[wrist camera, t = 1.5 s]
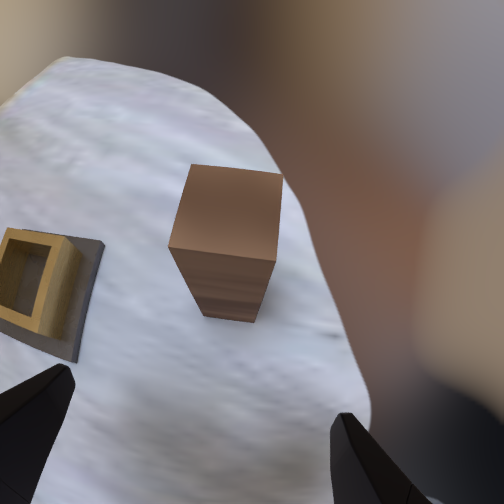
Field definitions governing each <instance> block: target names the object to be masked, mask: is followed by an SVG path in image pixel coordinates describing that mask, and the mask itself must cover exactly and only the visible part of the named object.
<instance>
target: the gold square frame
mask: <svg viewBox="0 0 504 504" xmlns="http://www.w3.org/2000/svg"><path fill="white" fill-rule="evenodd" d="M104 247H105V245H104V244H103V243H102V241H100V240H93V239H86V238H79V237H72V236H66V235H59V234H52V233H45V232H39V231H32V230H26V229H22V230H20V229H14V228H7V230H6V232H5V235H4V237H3V240H2V243H1V245H0V332H2V333H4V334H6V335H8V336H10V337H12V338H14V339H16V340H19V341H21V342H23V343H25V344H27V345H30V346H32V347H34V348H36V349H39V350H41V351H44V352H46V353H48V354H51V355H53V356H56V357H59V358H61V359H64V360H66V361H69V362H73V363H77V359H78V353H79V347H80V341H81V336H82V331H83V326H84V322H85V317H86V313H87V308H88V304H89V300H90V296H91V292H92V288H93V284H94V281H95V277H96V273H97V270H98V266H99V263H100V260H101V256H102V253H103V250H104Z"/></svg>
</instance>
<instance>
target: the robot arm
mask: <svg viewBox="0 0 504 504" xmlns="http://www.w3.org/2000/svg"><path fill="white" fill-rule="evenodd" d="M74 390H75V380H74V378H73V375H72V372H71V370H70V368H69V367H68V366H66V365H63V364H60V363H59V364H56V365H54V366H53V367H51V368H49V369H47V370H45V371H43V372H41V373H39V374H37V375H35V376H34V377H32V378H30V379H28V380H26V381H24V382H22V383H20V384H18V385H16V386H14V387H13V388H11V389H9V390H7V391H5V392H3V393H1V394H0V504H31V501H32V498H33V495H34V492H35V490H36V487H37V484H38V481H39V479H40V476H41V473H42V471H43V468H44V466H45V463H46V461H47V458H48V456H49V453H50V451H51V449H52V446H53V444H54V442H55V439H56V437H57V435H58V433H59V430H60V428H61V426H62V424H63V421H64V418H65V416H66V413H67V410H68V407H69V404H70V401H71V398H72V395H73V392H74ZM330 471H331V481H332V489H333V497H334V504H432V503H431V502H430V501H429V500H428V499H427V498H426V497H425V496H424V495H423V494H422V493H421V492H420V491H419V490H418V489H417V487H416V486H415V485H414V484H412V482H411V481H410V480H409V479H408V477H407V476H406V475H405V474H404V473H403V472H402V471H401V470H400V468H399V467H398V466H397V465H396V464H395V463H394V462H393V461H392V459H391V458H390V457H389V456H388V455H387V454H386V452H385V451H384V450H383V449H382V448H381V447H380V445H379V444H378V443H377V442H376V441H375V440H374V438H373V437H372V436H371V435H370V434H369V433H368V431H367V430H366V429H365V428H364V427H363V425H362V424H361V423H360V422H359V421H358V420H357V418H356V417H355V416H354V415H353V414H352V413H339V414H338V415H337V417H336V419H335V421H334V423H333V424H332V426H331V429H330Z"/></svg>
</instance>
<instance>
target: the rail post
mask: <svg viewBox="0 0 504 504" xmlns="http://www.w3.org/2000/svg"><path fill="white" fill-rule="evenodd" d="M282 186H283V174H277V173H270V172H262V171H254V170H246V169H237V168H228V167H219V166H208V165H197V164H191V167H190V170H189V173H188V177H187V180H186V183H185V186H184V190H183V193H182V197H181V200H180V203H179V207H178V211H177V214H176V218H175V221H174V225H173V229H172V233H171V236H170V240H169V244H168V248H169V250H170V252H171V254H172V256H173V258H174V260H175V262H176V264H177V266H178V268H179V270H180V272H181V274H182V276H183V278H184V280H185V282H186V284H187V286H188V288H189V290H190V292H191V294H192V296H193V297H194V299H195V301H196V303H197V305H198V307H199V309H200V311H201V312H202V314H203V316H207V317H213V318H220V319H227V320H235V321H242V322H250V323H254V322H255V319H256V316H257V313H258V311H259V308H260V305H261V302H262V300H263V297H264V294H265V291H266V288H267V286H268V283H269V280H270V277H271V274H272V271H273V269H274V266H275V263H276V257H277V246H278V235H279V223H280V211H281V199H282Z"/></svg>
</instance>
